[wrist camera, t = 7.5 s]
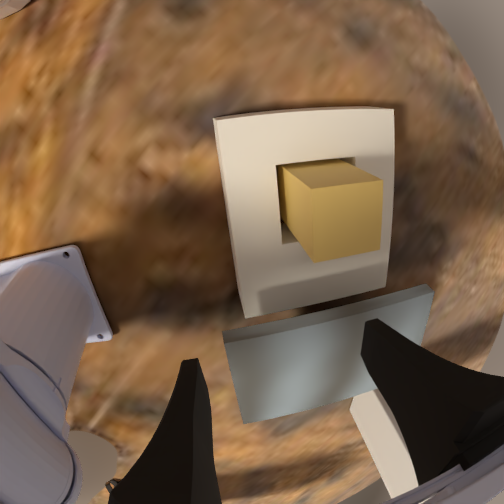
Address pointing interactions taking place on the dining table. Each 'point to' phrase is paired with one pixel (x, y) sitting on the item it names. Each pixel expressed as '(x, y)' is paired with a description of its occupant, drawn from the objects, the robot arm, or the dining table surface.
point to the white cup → (11, 7)
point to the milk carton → (384, 442)
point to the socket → (267, 202)
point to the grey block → (315, 354)
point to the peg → (331, 207)
